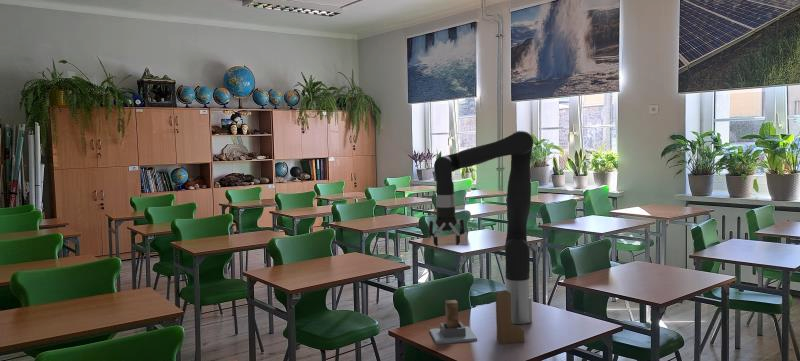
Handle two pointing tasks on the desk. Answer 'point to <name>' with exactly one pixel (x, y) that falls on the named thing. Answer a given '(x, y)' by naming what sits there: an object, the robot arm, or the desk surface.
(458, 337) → the socket board
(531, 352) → the desk surface
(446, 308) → the walnut peg
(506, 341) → the wooden block
